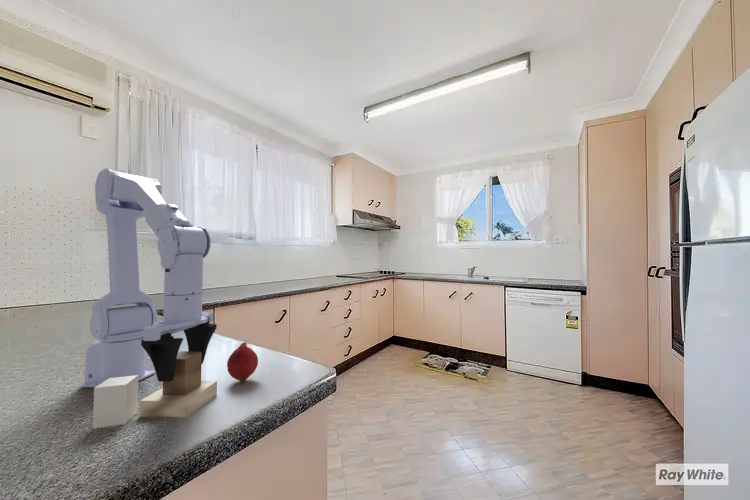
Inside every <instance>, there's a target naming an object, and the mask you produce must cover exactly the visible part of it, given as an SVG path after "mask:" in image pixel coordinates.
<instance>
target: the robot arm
mask: <svg viewBox="0 0 750 500" xmlns="http://www.w3.org/2000/svg"><path fill="white" fill-rule="evenodd" d="M94 183H95V185H94V192H95V194H94V196H95V205H96V210H97V211H98V212H100V213H101V214H103V215H105V218H106V219H105V220H106V227H107V229H106V230H107V232H106V233H107V251H108V256H107V257H108V273H109V274H108V275H109V276H108V277H109V278H108V279H109V280H108V281H109V292H108V293H107V294H105V295H104V296H102V297H101V298H99V299H98V300H96V302H94V303H93V305H92V308H91V316H90V320H89V321H90V322H89V329H90V333H91V336H92V338H93V339H95V340H94V341H93V342H92V343H91V344H90V345H89V346H88V348H87V349H86V353H85V357H84V358H85V359H84V360H85V361H84V362H85V363H84V365H85V366H84V383H81V384H80V385H79V387H80V388H95V387H97V386H98V385H100V384H101V383H103V382H104V381H106V380H107V379H109V378H115V377H125V376H134V375H138V382H139V381H141V380H143V379H146V378H148V377H150V376H152V375H154V374H155V375H156V378H157V381H158V382H162V383H163V382H170V381H172V380H173V378H174V375H175V368H176V359H177V354H178V352H180V351H179V350H180V347H181V345H182V343H183V340H184V338H183V337H174V334H176V333H179V332H182V331H183V333H184V335H185V339H186V343H187V349H188V350H187V351H192V352H202V361H201V365H203V364H204V361H205V357H206V354H207V350H208V347H209V343H210V341H211V339H212V336H213V334H214V333H215V332H216V330H217V327H218V325H217V323H212V322H214V312H213V311H203V286H204V283H203V282H204V281H203V280H204V276H203V275H204V258H206V257H207V256H208V254H209V252H210V251H211V244H212V243H211V242H212V241H211V236H210V234H209V232H208V230H207V229H206V227H201V226H194V225H193V224H192V223H191V222H190V221H189V220H188V219H187V217H186V216H185V215H184V214H183V213H182V212H181V211H180V209H179V206H178V205H177V204H172V203H167V202H166V201H165V200H164V198H163V196H162V184H161V183H160V182H159V181H158V179H156V178H149V177H145V176H140V175H134V174H130V173H125V172H120V171H117V170H112V169H110V168H103V169H102V170H100V171H99V172H98V174H97V177H96V181H95V182H94ZM141 218H145V221H146V222H145V223H146V224H147V225H148V227H149V228H150V229H151V231H152V232H153V234H154V235H156V238H158V241H157V250H158V251H157V252H158V254H159V255H160V266H161V268H162V269H164V279H163V285H164V286H163V320H161V321H158V313H157V309H156V307H155V304H154V298H153V297H152V296H151V295H149V294H147V293H146V292H143V291H142V290H141V289H140V275H139V274H140V272H139V270H140V269H139V255H138V236H137V235H138V233H137V221H138V219H141ZM125 305H126V306H125ZM127 305H129V306H127ZM115 306H116V307H115ZM117 306H119V307H117ZM110 307H111V308H110ZM172 335H173V336H172ZM146 355H148V357H149V359H150V361H151V362H152V365H153V367H154V370H146V359H147V358H146Z"/></svg>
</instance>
